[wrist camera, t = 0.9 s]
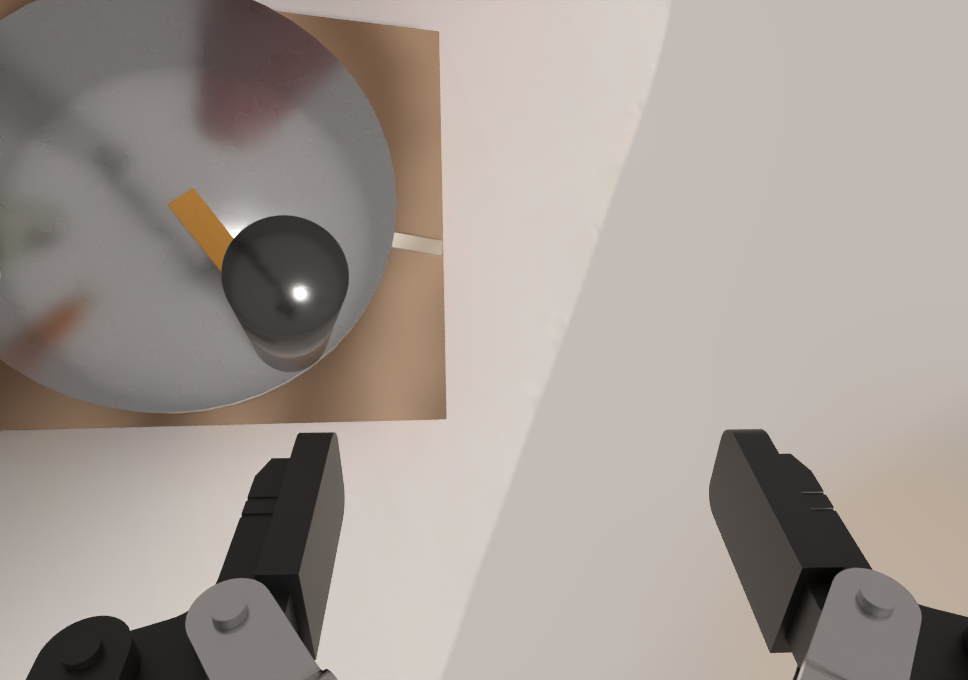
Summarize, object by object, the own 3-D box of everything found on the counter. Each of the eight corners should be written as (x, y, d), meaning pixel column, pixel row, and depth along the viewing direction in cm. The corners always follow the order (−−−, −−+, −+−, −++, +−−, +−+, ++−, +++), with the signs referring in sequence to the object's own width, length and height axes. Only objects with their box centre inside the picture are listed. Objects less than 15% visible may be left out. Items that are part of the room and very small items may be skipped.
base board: (-124, 433, 28) (-160, 434, 26) (-91, -8, 30) (-121, -42, 28) (437, 419, 34) (447, 419, 32) (431, 52, 36) (440, 28, 34)
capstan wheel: (-171, 143, 27) (-644, -142, 13) (227, -63, 32) (177, -420, 18) (129, 504, 28) (-26, 579, 14) (467, 252, 33) (585, 133, 19)
